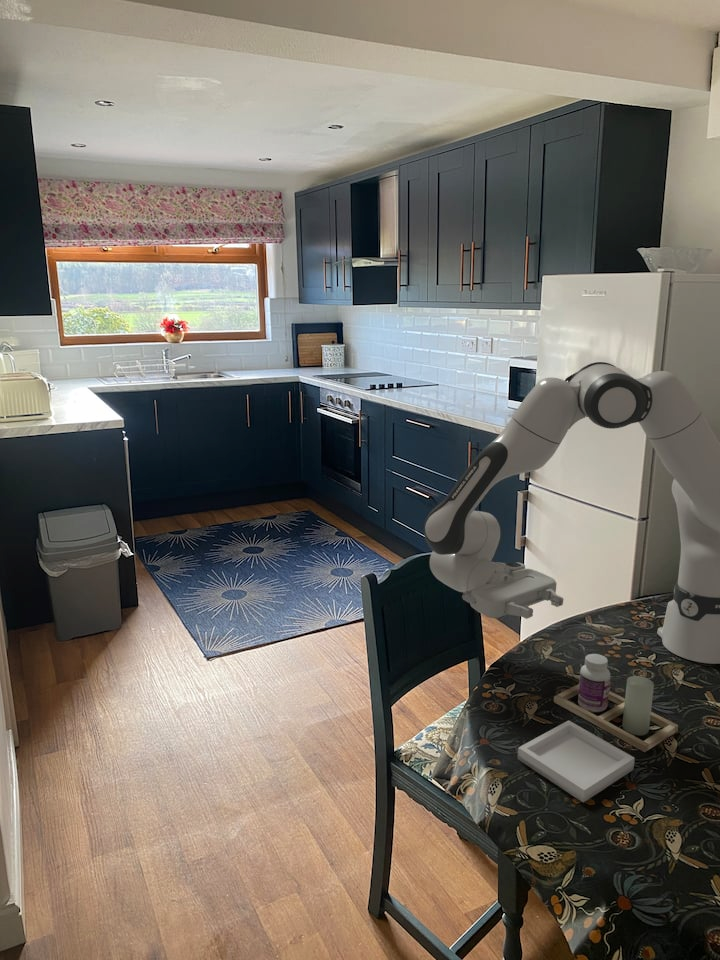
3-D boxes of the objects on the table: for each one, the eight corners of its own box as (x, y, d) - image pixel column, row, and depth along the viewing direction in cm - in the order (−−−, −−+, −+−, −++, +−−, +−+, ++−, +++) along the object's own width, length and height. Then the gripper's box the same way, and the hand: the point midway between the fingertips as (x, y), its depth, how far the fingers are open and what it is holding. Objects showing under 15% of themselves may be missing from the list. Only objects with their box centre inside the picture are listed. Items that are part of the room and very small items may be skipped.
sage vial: (631, 717, 129) (636, 673, 127) (653, 729, 126) (659, 683, 124) (617, 726, 127) (621, 681, 125) (639, 738, 123) (644, 692, 121)
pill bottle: (609, 714, 130) (613, 667, 128) (579, 711, 131) (583, 664, 129) (605, 698, 135) (609, 653, 133) (576, 696, 136) (580, 650, 134)
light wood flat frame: (586, 685, 140) (587, 679, 140) (677, 731, 125) (678, 725, 125) (553, 702, 134) (554, 696, 134) (644, 752, 120) (645, 746, 119)
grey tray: (567, 731, 125) (568, 720, 125) (633, 769, 115) (634, 757, 115) (517, 759, 118) (518, 747, 117) (583, 802, 108) (584, 790, 107)
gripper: (458, 580, 142) (512, 606, 131) (524, 560, 154) (579, 582, 144) (456, 609, 143) (509, 637, 133) (521, 587, 156) (575, 610, 145)
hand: (546, 608), depth 138 cm, fingers open, 8 cm apart
